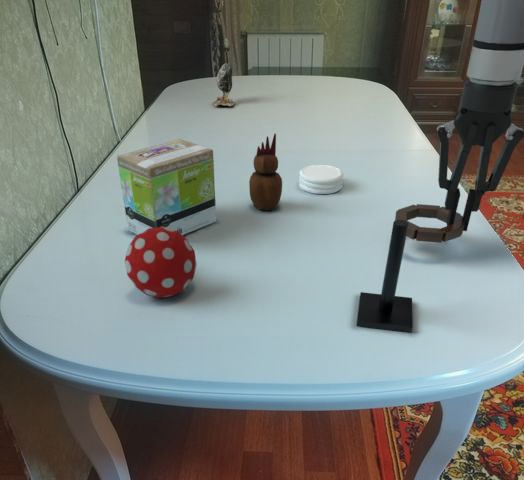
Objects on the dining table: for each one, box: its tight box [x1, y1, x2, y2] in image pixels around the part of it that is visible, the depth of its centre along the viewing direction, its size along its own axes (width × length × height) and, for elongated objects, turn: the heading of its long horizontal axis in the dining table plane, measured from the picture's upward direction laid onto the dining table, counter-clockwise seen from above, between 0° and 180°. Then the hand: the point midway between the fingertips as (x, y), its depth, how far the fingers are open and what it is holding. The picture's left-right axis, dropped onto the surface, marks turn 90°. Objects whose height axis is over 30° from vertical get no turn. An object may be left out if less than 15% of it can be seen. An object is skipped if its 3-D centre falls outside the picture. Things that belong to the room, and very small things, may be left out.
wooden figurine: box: [248, 133, 283, 211], centre depth 103 cm, size 7×6×15 cm
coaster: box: [298, 164, 344, 195], centre depth 116 cm, size 10×10×4 cm
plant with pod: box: [212, 37, 236, 107], centre depth 169 cm, size 8×11×20 cm
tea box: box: [116, 138, 217, 236], centre depth 96 cm, size 15×10×15 cm, turn 137°
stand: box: [355, 219, 414, 333], centre depth 73 cm, size 8×8×15 cm
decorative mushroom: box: [124, 227, 197, 299], centre depth 82 cm, size 11×11×15 cm
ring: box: [394, 203, 464, 244], centre depth 90 cm, size 12×12×2 cm
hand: (456, 226), depth 90 cm, fingers closed on ring, 2 cm apart
